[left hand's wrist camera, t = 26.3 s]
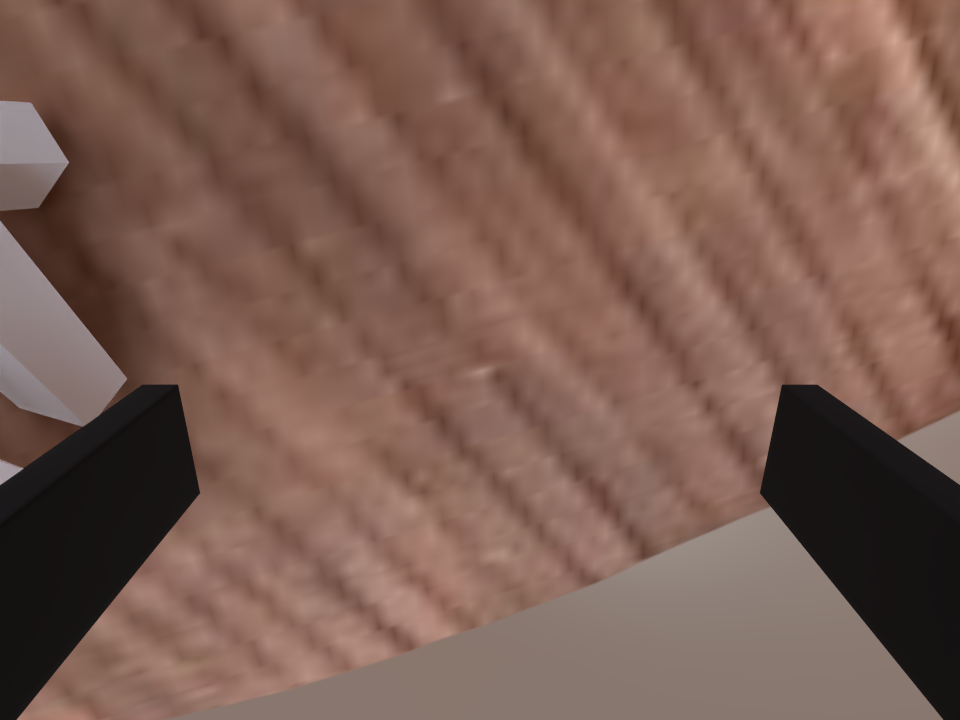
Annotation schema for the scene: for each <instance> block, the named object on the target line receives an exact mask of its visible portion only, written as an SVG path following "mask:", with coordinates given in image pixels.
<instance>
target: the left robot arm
mask: <svg viewBox="0 0 960 720" xmlns="http://www.w3.org/2000/svg"><path fill="white" fill-rule="evenodd" d="M199 494H200V491H199V486H198V481H197V476H196V471H195V466H194V461H193V456H192V451H191V446H190V442H189V437H188V432H187V427H186V422H185V417H184V412H183V407H182V402H181V397H180V392H179V388H178V385H142V386H140V387H139V388H137V389H136V390H135V391H133V392H132V393H130V394H129V395H127V396H126V397H125V398H123V399H122V400H120V401H119V402H118V403H116V404H115V405H113V406H112V407H110V408H109V409H108V410H106V411H105V412H103V413H102V414H100V415H99V416H98V417H96V418H95V419H93V420H92V421H91V422H89V423H88V424H86V425H85V426H83V427H82V428H81V429H79V430H78V431H76V432H75V433H73V434H72V435H71V436H69V437H68V438H66V439H65V440H64V441H62V442H61V443H59V444H58V445H56V446H55V447H54V448H52V449H51V450H49V451H48V452H46V453H45V454H44V455H42V456H41V457H39V458H38V459H37V460H35V461H34V462H32V463H31V464H29V465H28V466H27V467H25V468H24V469H22V470H21V471H19V472H18V473H17V474H15V475H14V476H12V477H11V478H10V479H8V480H7V481H5V482H4V483H2V484H1V485H0V720H17V718H18V717H19V716H20V715H21V714H22V712H23V711H24V710H25V709H26V707H27V706H28V705H29V704H30V702H31V701H32V700H33V699H34V697H35V696H36V695H37V694H38V693H39V691H40V690H41V689H42V688H43V686H44V685H45V684H46V683H47V681H48V680H49V679H50V678H51V676H52V675H53V674H54V673H55V672H56V670H57V669H58V668H59V667H60V665H61V664H62V663H63V662H64V660H65V659H66V658H67V657H68V655H69V654H70V653H71V652H72V651H73V649H74V648H75V647H76V646H77V644H78V643H79V642H80V641H81V639H82V638H83V637H84V636H85V634H86V633H87V632H88V631H89V630H90V628H91V627H92V626H93V625H94V623H95V622H96V621H97V620H98V618H99V617H100V616H101V615H102V613H103V612H104V611H105V610H106V609H107V607H108V606H109V605H110V604H111V602H112V601H113V600H114V599H115V597H116V596H117V595H118V594H119V592H120V591H121V590H122V589H123V588H124V586H125V585H126V584H127V583H128V581H129V580H130V579H131V578H132V576H133V575H134V574H135V573H136V571H137V570H138V569H139V568H140V567H141V565H142V564H143V563H144V562H145V560H146V559H147V558H148V557H149V555H150V554H151V553H152V552H153V551H154V549H155V548H156V547H157V546H158V544H159V543H160V542H161V541H162V539H163V538H164V537H165V536H166V534H167V533H168V532H169V531H170V530H171V528H172V527H173V526H174V525H175V523H176V522H177V521H178V520H179V518H180V517H181V516H182V515H183V513H184V512H185V511H186V510H187V509H188V507H189V506H190V505H191V504H192V502H193V501H194V500H195V499H196V497H197V496H198V495H199ZM760 494H761V495H762V496H763V497H764V499H765V500H766V501H767V502H768V504H769V505H770V506H771V507H772V509H773V510H774V511H775V512H776V513H777V515H778V516H779V517H780V518H781V520H782V521H783V522H784V523H785V525H786V526H787V527H788V528H789V530H790V531H791V532H792V533H793V534H794V536H795V537H796V538H797V539H798V541H799V542H800V543H801V544H802V546H803V547H804V548H805V549H806V550H807V552H808V553H809V554H810V555H811V557H812V558H813V559H814V560H815V562H816V563H817V564H818V565H819V566H820V568H821V569H822V570H823V571H824V573H825V574H826V575H827V576H828V578H829V579H830V580H831V581H832V583H833V584H834V585H835V586H836V588H837V589H838V590H839V591H840V592H841V594H842V595H843V596H844V597H845V599H846V600H847V601H848V602H849V604H850V605H851V606H852V607H853V609H854V610H855V611H856V612H857V613H858V615H859V616H860V617H861V618H862V620H863V621H864V622H865V623H866V625H867V626H868V627H869V628H870V630H871V631H872V632H873V633H874V634H875V636H876V637H877V638H878V639H879V641H880V642H881V643H882V644H883V646H884V647H885V648H886V649H887V650H888V652H889V653H890V654H891V655H892V657H893V658H894V659H895V660H896V662H897V663H898V664H899V665H900V667H901V668H902V669H903V670H904V671H905V673H906V674H907V675H908V676H909V678H910V679H911V680H912V681H913V683H914V684H915V685H916V686H917V688H918V689H919V690H920V691H921V692H922V694H923V695H924V696H925V697H926V699H927V700H928V701H929V702H930V704H931V705H932V706H933V707H934V709H935V710H936V711H937V712H938V714H939V715H940V716H941V717H942V718H943V720H960V485H959V484H958V483H956V482H955V481H953V480H952V479H950V478H949V477H948V476H946V475H945V474H943V473H942V472H940V471H939V470H938V469H936V468H935V467H933V466H932V465H930V464H929V463H928V462H926V461H925V460H923V459H922V458H921V457H919V456H918V455H916V454H915V453H913V452H912V451H911V450H909V449H908V448H906V447H905V446H904V445H902V444H901V443H899V442H898V441H896V440H895V439H894V438H892V437H891V436H889V435H888V434H887V433H885V432H884V431H882V430H881V429H879V428H878V427H877V426H875V425H874V424H872V423H871V422H869V421H868V420H867V419H865V418H864V417H862V416H861V415H860V414H858V413H857V412H855V411H854V410H852V409H851V408H850V407H848V406H847V405H845V404H844V403H842V402H841V401H840V400H838V399H837V398H835V397H834V396H833V395H831V394H830V393H828V392H827V391H825V390H824V389H823V388H821V387H820V386H818V385H782V388H781V392H780V397H779V402H778V407H777V412H776V417H775V422H774V427H773V432H772V437H771V442H770V446H769V451H768V456H767V461H766V466H765V471H764V476H763V481H762V486H761V491H760Z"/></svg>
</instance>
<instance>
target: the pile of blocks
mask: <svg viewBox="0 0 960 720" xmlns="http://www.w3.org/2000/svg"><path fill="white" fill-rule="evenodd" d="M68 163H69V162H68V160H67V159H66V157H65V155H64V154H63V152H62V151H61V149H60V147H59V146H58V144H57V143H56V141H55V140H54V138H53V136H52V135H51V133H50V132H49V130H48V129H47V127H46V125H45V124H44V122H43V121H42V119H41V118H40V116H39V114H38V113H37V111H36V110H35V108H34V107H33V105H32V103H28V102H13V101H0V211H6V210H18V209H30V208H39V206H40V205H41V203H42V202H43V200H44V199H45V197H46V196H47V194H48V193H49V192H50V190H51V189H52V187H53V186H54V184H55V183H56V181H57V180H58V178H59V177H60V175H61V174H62V172H63V171H64V169H65V168H66V166H67V165H68ZM126 380H127V378H126V376H125V375H124V374H123V373H122V371H121V370H120V369H119V368H118V366H117V365H116V364H115V363H114V362H113V360H112V359H111V358H110V357H109V355H108V354H107V353H106V352H105V350H104V349H103V348H102V347H101V345H100V344H99V343H98V342H97V340H96V339H95V338H94V337H93V335H92V334H91V333H90V332H89V330H88V329H87V328H86V327H85V326H84V324H83V323H82V322H81V321H80V319H79V318H78V317H77V316H76V314H75V313H74V312H73V311H72V309H71V308H70V307H69V306H68V304H67V303H66V302H65V301H64V299H63V298H62V297H61V296H60V294H59V293H58V292H57V291H56V290H55V288H54V287H53V286H52V285H51V283H50V282H49V281H48V280H47V278H46V277H45V276H44V275H43V273H42V272H41V271H40V270H39V268H38V267H37V266H36V265H35V263H34V262H33V261H32V260H31V258H30V257H29V256H28V255H27V254H26V252H25V251H24V250H23V249H22V247H21V246H20V245H19V244H18V242H17V241H16V240H15V239H14V237H13V236H12V235H11V234H10V232H9V231H8V230H7V229H6V227H5V226H4V225H3V224H2V222H1V221H0V392H1V393H2V394H3V395H5V396H6V397H7V398H8V399H9V400H10V401H12V402H13V403H14V404H15V405H16V406H18V407H19V408H21V409H24V410H28V411H31V412H34V413H38V414H41V415H45V416H48V417H51V418H55V419H58V420H62V421H65V422H68V423H72V424H75V425H78V426H82V427H83V426H85V425H86V424H88V423H89V422H91V421H92V420H93V419H95V418H96V417H98V416H99V415H100V414H101V413H102V411H103V410H104V409H105V407H106V406H107V405H108V403H109V402H110V401H111V400H112V398H113V397H114V396H115V394H116V393H117V392H118V390H119V389H120V388H121V387H122V385H123V384H124V383H125V381H126ZM22 469H24V468H22V467H20V466H17V465H14V464H12V463H9V462H6V461H3V460H1V459H0V485H1V484H2V483H4V482H5V481H7V480H8V479H10V478H11V477H12V476H14V475H15V474H17V473H18V472H19V471H21V470H22Z"/></svg>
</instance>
